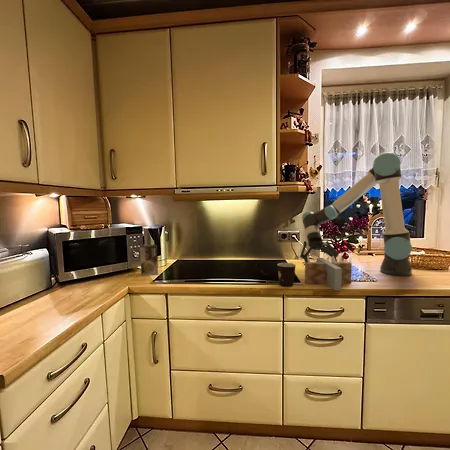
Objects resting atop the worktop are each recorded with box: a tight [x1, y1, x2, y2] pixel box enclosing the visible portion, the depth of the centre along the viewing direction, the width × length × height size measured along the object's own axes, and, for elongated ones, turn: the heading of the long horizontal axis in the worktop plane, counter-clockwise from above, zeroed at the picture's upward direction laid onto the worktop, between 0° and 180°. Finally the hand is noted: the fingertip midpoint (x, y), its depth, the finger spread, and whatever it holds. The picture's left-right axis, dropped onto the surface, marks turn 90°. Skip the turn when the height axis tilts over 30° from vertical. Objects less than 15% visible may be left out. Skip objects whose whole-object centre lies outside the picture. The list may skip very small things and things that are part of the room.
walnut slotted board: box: [304, 261, 353, 285], centre depth 143 cm, size 22×3×10 cm, turn 92°
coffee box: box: [139, 244, 159, 277], centre depth 162 cm, size 9×6×16 cm
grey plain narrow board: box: [316, 257, 342, 291], centre depth 143 cm, size 24×3×10 cm, turn 2°
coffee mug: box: [277, 262, 296, 288], centre depth 141 cm, size 12×9×10 cm
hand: (322, 268), depth 149 cm, fingers open, 13 cm apart
